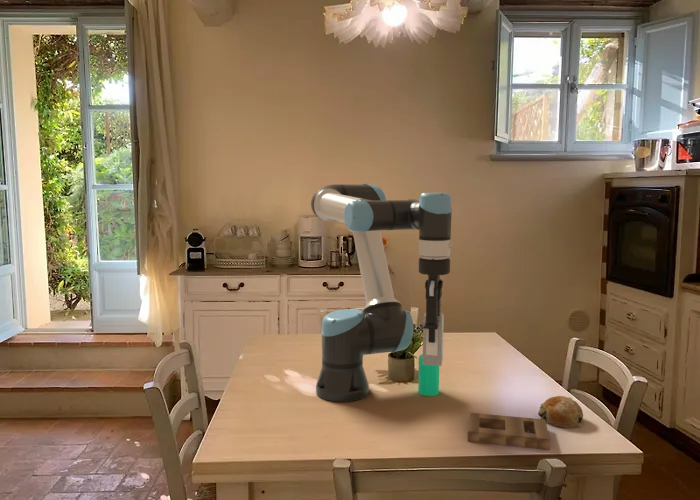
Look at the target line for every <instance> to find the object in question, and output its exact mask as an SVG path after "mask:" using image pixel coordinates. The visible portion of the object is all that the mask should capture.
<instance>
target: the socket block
mask: <svg viewBox="0 0 700 500" xmlns="http://www.w3.org/2000/svg"><path fill="white" fill-rule="evenodd" d="M528 432H533V433H528ZM467 442H471V443H479V444H480V443H481V444H488V445H489V444H491V445H499V446H502V445H503V446H509V447H520V448H528V449H529V448H530V449H539V450H540V449H541V450H547V451H550V448H551V445H550V444H551V438H550V433H549V429H548V426H547V423H546V421H545V419H542V418H533V417H532V418H531V417H522V416H521V417H520V416H513V415H512V416H511V415H501V414H500V415H499V414H489V413H480V412H469V413H468V427H467Z"/></svg>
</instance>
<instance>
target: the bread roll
mask: <svg viewBox="0 0 700 500" xmlns="http://www.w3.org/2000/svg"><path fill="white" fill-rule="evenodd" d="M583 413H584V412H583V409H582V407H581V406H580V405H579V403H578V402H577V401H576V400H573V398H572V397H570V396H563V395H556V396H551V397H549V398H548V399H546V400H545V401H544V402H543V403H541V404H540V407H539V410H538V413H537V415H538V417H540V418H541V419H545V421H546V424H549V425H552V426H553V425H554V427H557V428H558V427H560V428H567V429H570V428H571V429H574V428H577V427H578V428H580V427H581V426H582V421H583V418H584V414H583Z"/></svg>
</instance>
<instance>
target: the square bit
mask: <svg viewBox="0 0 700 500" xmlns="http://www.w3.org/2000/svg"><path fill="white" fill-rule="evenodd" d="M444 314H445V313H444V312H440V313H438V321H437V326H438V355H437V356H435V355H426V329H424V328H423V326H425V325H426V311H425V312H424V314H423V316H422V317H423V319H422V354H423V365H435V366H439V367H441V366H442V365H443V361H444V326H445V325H444V318H445V315H444Z"/></svg>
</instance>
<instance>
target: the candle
mask: <svg viewBox="0 0 700 500" xmlns="http://www.w3.org/2000/svg"><path fill="white" fill-rule="evenodd" d="M417 377H418V381H417V383H418V384H417V385H418V387H417V389H418V390H417V391H418V392H417V393H418V394H420V395H422V396H428V397H432V396H438V395H439V394H440V366H435V365H423V353H422V354H420V355H419V356H418V376H417Z"/></svg>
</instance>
